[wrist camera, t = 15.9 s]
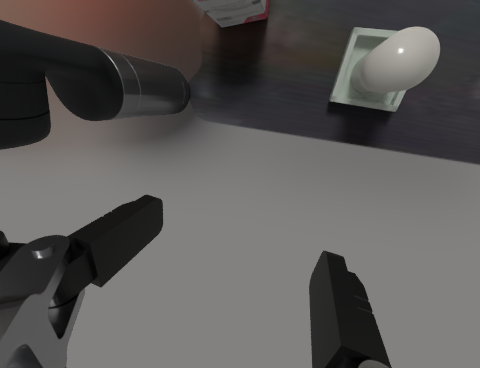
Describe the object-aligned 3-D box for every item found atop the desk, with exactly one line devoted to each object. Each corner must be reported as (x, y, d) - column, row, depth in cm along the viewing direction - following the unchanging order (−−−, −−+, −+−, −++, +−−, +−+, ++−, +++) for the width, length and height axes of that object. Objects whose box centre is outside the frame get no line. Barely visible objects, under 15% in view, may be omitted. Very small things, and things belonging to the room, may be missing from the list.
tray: (328, 101, 34) (330, 101, 32) (350, 32, 30) (354, 27, 28) (390, 111, 32) (395, 111, 30) (423, 38, 28) (432, 34, 26)
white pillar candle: (345, 91, 32) (363, 88, 23) (358, 49, 30) (386, 25, 20) (384, 96, 31) (421, 94, 22) (402, 53, 29) (453, 28, 19)
